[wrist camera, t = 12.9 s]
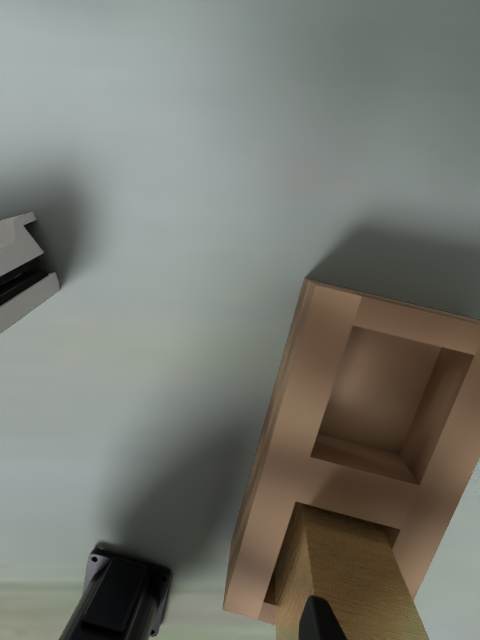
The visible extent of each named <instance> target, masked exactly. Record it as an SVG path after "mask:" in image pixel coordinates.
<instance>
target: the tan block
mask: <svg viewBox="0 0 480 640" xmlns="http://www.w3.org/2000/svg"><path fill="white" fill-rule="evenodd" d="M310 595H315V596H318V597H322V598H324V599H326V600H327V601H328V603H329V604H330V606H331V608H332V610H333V612H334V614H335V616H336V618H337V620H338V622H339V624H340V626H341V628H342V630H343V632H344V633H345V635H346V637H347V639H348V640H429V638H428V635H427V633H426V631H425V628H424V626H423V623H422V621H421V619H420V616H419V614H418V612H417V609H416V607H415V604H414V602H413V600H412V597H411V595H410V592H409V590H408V588H407V585H406V583H405V581H404V578H403V576H402V573H401V571H400V569H399V566H398V564H397V561H396V559H395V557H394V554H393V552H392V549H391V547H390V545H389V542H388V540H387V538H386V535H385V533H384V530H383V528H382V526H381V524H378V523H374V522H370V521H367V520H363V519H359V518H356V517H352V516H348V515H344V514H341V513H337V512H333V511H329V510H326V509H322V508H318V507H315V506H311V505H307V504H303V503H300V502H295V505H294V508H293V511H292V514H291V517H290V520H289V524H288V527H287V530H286V533H285V536H284V539H283V542H282V545H281V548H280V551H279V555H278V558H277V561H276V564H275V603H276V640H299V622H300V618H301V615H302V612H303V610H304V607H305V604H306V601H307V599H308V597H309V596H310Z"/></svg>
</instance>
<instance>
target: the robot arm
mask: <svg viewBox="0 0 480 640" xmlns="http://www.w3.org/2000/svg"><path fill="white" fill-rule="evenodd" d="M171 576H172V573H171V571H170V570H169V569H166V568H163V567H159V566H156V565H152V564H149V563H145V562H141V561H138V560H134V559H131V558H127V557H124V556H120V555H116V554H113V553H109V552H106V551H102V550H99V549H94V550H92V552H91V553H90V555H89V557H88V563H87V569H86V576H85V582H84V589H83V595H82V598H81V600H80V601H79V603H78V605H77V607H76V609H75V611H74V612H73V614H72V616H71V618H70V620H69V622H68V623H67V625H66V627H65V629H64V631H63V633H62V634H61V636H60V638H59V640H148V639H149V636H152V637H154V636H156V635H157V634H158V631H159V628H160V623H161V619H162V615H163V610H164V606H165V602H166V597H167V593H168V589H169V584H170V580H171ZM299 640H348V639H347V637H346V635H345V633H344V632H343V630H342V628H341V626H340V624H339V622H338V620H337V618H336V616H335V614H334V612H333V610H332V608H331V606H330V604H329V603H328V601H327V600H326V599H324V598H322V597H318V596H315V595H310V596H309V597H308V599H307V601H306V604H305V607H304V610H303V612H302V615H301V618H300V622H299Z"/></svg>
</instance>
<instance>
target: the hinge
mask: <svg viewBox="0 0 480 640" xmlns="http://www.w3.org/2000/svg"><path fill="white" fill-rule="evenodd" d="M35 220H36V218H35V216H34V214H33V212H29V213H26V214H22V215H18V216H14V217H10V218H6V219H2V220H0V334H1V333H2V332H4V331H5V330H6V329H8V328H9V327H10V326H12V325H13V324H15V323H16V322H17V321H19V320H20V319H21V318H23V317H24V316H25V315H27V314H28V313H30V312H31V311H32V310H34V309H35V308H36V307H38V306H39V305H40V304H42V303H43V302H45V301H46V300H47V299H49V298H50V297H51V296H53V295H54V294H55V293H57V292H58V291H60V288H59V281H58V278H57V275H56V272H53V273H47V271H46V269H42V270H37V271H33V272H29V273H24V274H21V273H22V272H24V271H26V270H28V269H29V268H31V267H33V266H35V265H36V264H38V263H40V262H41V261H40V259H39V257H38V256H39V255H41V254H43V253H44V252H43V250H42V249H41V248H40V247H39V245H38V244H37V243H36V241H35V240H34V239H33V238H32V236H31V235H30V234H29V233H28V231H27V230H26V229H25V227H24V226H23V225H26V224H28V223H30V222H33V221H35Z"/></svg>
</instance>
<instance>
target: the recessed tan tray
mask: <svg viewBox="0 0 480 640" xmlns="http://www.w3.org/2000/svg"><path fill="white" fill-rule="evenodd" d="M479 458H480V321H479V320H476V319H473V318H469V317H465V316H461V315H456V314H452V313H448V312H444V311H440V310H436V309H431V308H427V307H423V306H419V305H415V304H411V303H406V302H402V301H398V300H394V299H390V298H386V297H381V296H377V295H373V294H369V293H365V292H361V291H356V290H352V289H348V288H344V287H340V286H336V285H331V284H327V283H323V282H319V281H315V280H310V279H306V278H304V282H303V285H302V289H301V293H300V296H299V300H298V303H297V307H296V311H295V314H294V318H293V321H292V325H291V329H290V332H289V336H288V339H287V343H286V347H285V350H284V354H283V358H282V361H281V365H280V368H279V372H278V376H277V379H276V383H275V386H274V390H273V394H272V397H271V401H270V404H269V408H268V412H267V415H266V419H265V422H264V426H263V430H262V433H261V437H260V440H259V444H258V448H257V451H256V455H255V458H254V462H253V466H252V469H251V473H250V476H249V480H248V484H247V487H246V491H245V495H244V498H243V502H242V505H241V509H240V513H239V516H238V520H237V523H236V527H235V531H234V534H233V538H232V541H231V548H230V556H229V564H228V572H227V579H226V587H225V595H224V603H223V610H225V611H228V612H232V613H235V614H239V615H243V616H246V617H250V618H253V619H257V620H260V621H264V622H267V623H271V624H274V625H276V603H275V564H276V561H277V558H278V555H279V551H280V548H281V545H282V542H283V539H284V536H285V533H286V530H287V527H288V524H289V520H290V517H291V514H292V511H293V508H294V505H295V502H300V503H303V504H307V505H311V506H315V507H318V508H322V509H326V510H329V511H333V512H337V513H341V514H344V515H348V516H352V517H356V518H359V519H363V520H367V521H370V522H374V523H378V524H381V526H382V528H383V530H384V533H385V535H386V538H387V540H388V542H389V545H390V547H391V549H392V552H393V554H394V557H395V559H396V561H397V564H398V566H399V569H400V571H401V573H402V576H403V578H404V581H405V583H406V585H407V588H408V590H409V592H410V595H411V597H412V600H414V598H415V596H416V594H417V591H418V589H419V587H420V585H421V583H422V581H423V579H424V576H425V574H426V572H427V570H428V568H429V566H430V563H431V561H432V559H433V557H434V555H435V553H436V550H437V548H438V546H439V544H440V542H441V540H442V538H443V535H444V533H445V531H446V529H447V527H448V525H449V522H450V520H451V518H452V516H453V514H454V512H455V509H456V507H457V505H458V503H459V501H460V499H461V496H462V494H463V492H464V490H465V488H466V486H467V484H468V481H469V479H470V477H471V475H472V473H473V471H474V468H475V466H476V464H477V462H478V460H479Z"/></svg>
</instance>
